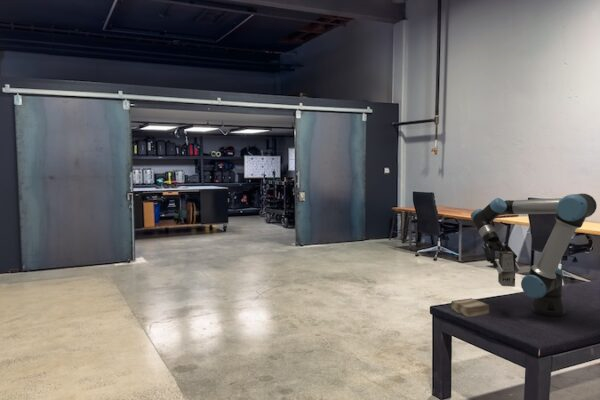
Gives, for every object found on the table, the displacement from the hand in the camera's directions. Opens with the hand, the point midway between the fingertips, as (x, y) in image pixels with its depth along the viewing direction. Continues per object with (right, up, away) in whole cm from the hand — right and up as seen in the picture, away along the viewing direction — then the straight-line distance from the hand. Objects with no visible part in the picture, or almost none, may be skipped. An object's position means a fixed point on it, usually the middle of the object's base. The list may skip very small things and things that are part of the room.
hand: (509, 271), depth 237 cm
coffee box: (-1, -7, +3) cm, 7 cm away
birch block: (-16, -23, +11) cm, 30 cm away
